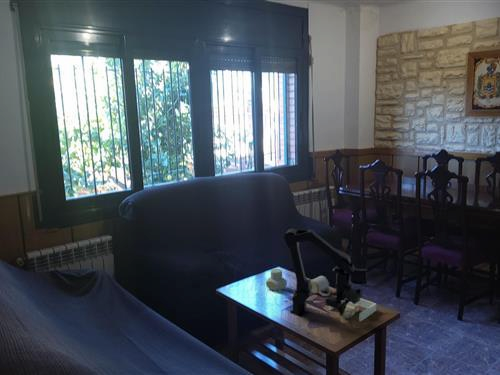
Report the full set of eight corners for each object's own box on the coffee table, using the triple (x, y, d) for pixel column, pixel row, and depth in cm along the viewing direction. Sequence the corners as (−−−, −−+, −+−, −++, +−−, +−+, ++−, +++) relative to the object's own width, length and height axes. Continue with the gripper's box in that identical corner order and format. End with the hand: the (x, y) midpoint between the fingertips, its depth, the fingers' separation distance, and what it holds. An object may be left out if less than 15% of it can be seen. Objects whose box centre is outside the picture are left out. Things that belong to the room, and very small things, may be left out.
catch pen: (360, 321, 189) (360, 314, 188) (328, 309, 200) (328, 302, 199) (375, 310, 199) (376, 303, 198) (344, 300, 210) (345, 293, 209)
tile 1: (348, 318, 192) (348, 312, 191) (338, 314, 195) (339, 308, 194) (354, 314, 195) (354, 308, 195) (344, 311, 198) (344, 305, 198)
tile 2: (353, 314, 195) (353, 308, 195) (343, 311, 199) (343, 305, 198) (358, 310, 199) (358, 304, 199) (349, 307, 202) (349, 301, 202)
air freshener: (263, 288, 224) (263, 270, 223) (272, 283, 231) (272, 265, 229) (280, 294, 218) (280, 275, 216) (289, 288, 224) (289, 270, 222)
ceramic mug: (307, 291, 220) (307, 277, 219) (318, 287, 225) (318, 273, 224) (323, 298, 212) (323, 284, 210) (333, 294, 217) (334, 280, 216)
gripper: (347, 293, 177) (346, 328, 180) (369, 281, 191) (368, 313, 193) (325, 286, 185) (324, 319, 188) (347, 274, 198) (346, 305, 201)
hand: (341, 314), depth 192 cm, fingers closed
